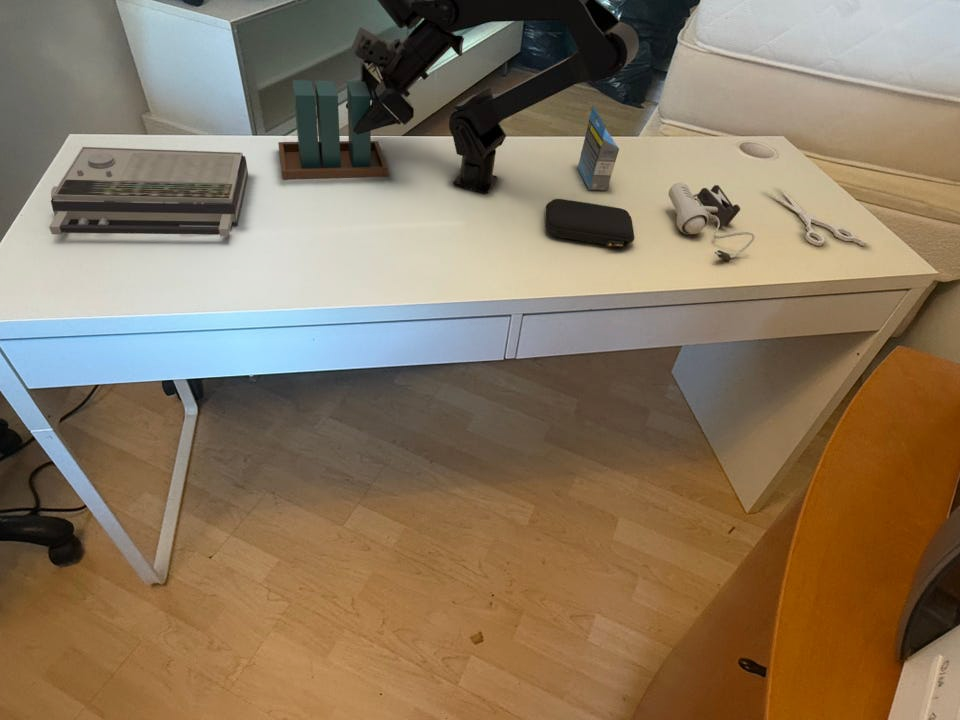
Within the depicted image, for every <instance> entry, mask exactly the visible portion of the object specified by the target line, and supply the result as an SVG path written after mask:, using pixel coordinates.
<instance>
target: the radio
mask: <svg viewBox="0 0 960 720" xmlns="http://www.w3.org/2000/svg"><path fill="white" fill-rule="evenodd" d="M73 159H74V160H73V161H72V163H71V164H70V165H69V167H68V169H67V170H66V172H65V173H64V175H63V177H62V178H61V179H60V181H59V183H58V185H57V186H52V188H51V191H50V198H51V199H50V204H51V208H52V212H53V214H54V217H53V219H52V221H51V223H50V224H49V226H48V228H49V231H50V233H51V234H52V235H59V236H60V235H63V234H126V235H127V234H129V235H132V234H133V235H135V234H137V235H212V236H213V235H214V236H215V235H219V237H230V234H231V228H232V227H238V225H239V221H240V216H241V212H242V211H241V210H242V207H243V201H244V198H245V193H246V187H247V181H248V177H249V171H248V164H247V159H246V155H243V152H239V151H238V152H237V151H236V152H235V151H234V152H233V151H210V150H208V151H207V150H184V149H183V150H181V149H180V150H179V149H178V150H177V149H155V148H154V149H153V148H129V147H128V148H126V147H97V146H82V147H81V148H80V150H79V151H78V153H77V154H76V156H75V158H73Z"/></svg>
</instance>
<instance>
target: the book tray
mask: <svg viewBox="0 0 960 720" xmlns="http://www.w3.org/2000/svg"><path fill="white" fill-rule="evenodd" d="M277 146H278V153H279V160H280V169H281V177H282V180H283V181H289V180H290V181H295V180H327V179H330V180H331V179H358V178H359V179H362V178H365V179H366V178H388V177H389V167H388V164H387V162H386V158H385V156H384V153H383V151H382V148H381V145H380V142H379V140H371V167H352V163H351V160H350V156H349V140H340V161H341V168H322V164H321V159H320V152H319V162H320V168H309V169H302V168H301V163H300V157H299V146H298V141H278V145H277ZM318 147H319V141H318Z"/></svg>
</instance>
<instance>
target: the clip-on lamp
mask: <svg viewBox="0 0 960 720" xmlns="http://www.w3.org/2000/svg"><path fill="white" fill-rule="evenodd" d="M668 197H669V199H670V202H671V203H672V206H673V208H674V211H675V212H676V225H677V227H678V229H679V231H680V232H681V233H682V234H685V235H696V234H698V233H701V232H702V231H703V230H704V228H705V227H706V226H707V225H708V223H709V218H710V219H715V222H714V226H715V227H716V229H715V231H714V233H713V238H714V239H726V238H730V237H736V236H742V235H750V236H751V239H750V241H748V243H747V244H746V245H745V246H743V247H742V248H741V249H739V250H738V251H737V252H735V253H733V254H732V255H730V254H729V253H727V252H725V251H722V250H720V249H719V250H717V251H714V254H715V255H717V257H718V258H719V259H721V260H725V261H727V262H728V261H730V260H731V259H734V258H735V257H737V256H738V255H741V253H743V252H744V251H745V250H746V249H747V248H748V247H749V246H750V245H751V244H752V243H753V242H754V240H755V238H756V235H755V233H753V232H751V231H740V232H733V233H727V234H721V235H720V234H719V235H717V233H718V231H719V229H721V228H722V227H723V226H725V227H726V226H729V224H730V223H731V222H732V221H733V219H734V218H735V217H736V216H737V215H738V213H739V212H740V211H741V207H740V205H738V204H734V205H733V204H732V202H731V201H730V200H729V198H728V196H727V195H726V194H725V192H724V191H723V189H722V188H721V186H720V185H718V184H714V185H713V187H711V189H708V188H707V187H703V188H701V189H700V191H699V192H698V193H695V194H692V191H691V190H690V188H689V186H688V185H687V184H686V183H685V182H677V183H675V184H673V185H672V186H671V187H670V188H669V190H668Z"/></svg>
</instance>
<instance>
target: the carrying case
mask: <svg viewBox="0 0 960 720" xmlns="http://www.w3.org/2000/svg"><path fill="white" fill-rule="evenodd" d="M544 214H545V215H544V217H545V218H544V227H545V229H546V231H548V234H550V235H551V236H552V237H556V238H562V239H566V240H567V239H568V240H574V241H579V242H584V243H585V242H586V243H591V244H599V245H605V246H606V247H608V248H613V247H618V248H619V247H620V248H621V247H622V248H623V247H627V246H629V245H631V244H632V243H633V242H634V241H635V232H634V225H633V219H632V216H631V215H630V213H629V212H628V211H627V210H626V209H625V208H621V207H620V208H619V207H615V206H609V205H603V204H598V203H590V202H583V201H578V200H572V199H565V198H553V199H552V200H550V201H549V202H547V203H546V205H545V213H544Z"/></svg>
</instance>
